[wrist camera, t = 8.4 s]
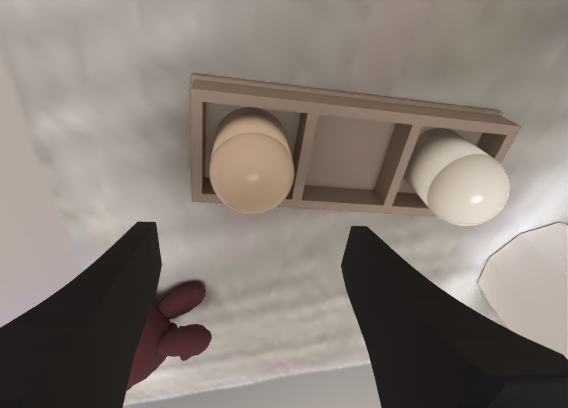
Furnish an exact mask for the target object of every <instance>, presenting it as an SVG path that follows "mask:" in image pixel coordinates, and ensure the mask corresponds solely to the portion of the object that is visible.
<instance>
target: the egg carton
mask: <svg viewBox="0 0 568 408" xmlns="http://www.w3.org/2000/svg"><path fill="white" fill-rule="evenodd" d="M191 84H192V86H191V88H190V108H191V181H192V202H207V203H223V202H222V201H221V200H220V199H219V198H218V197H217V195H216V193H215V192H214V190H213V187H212V185H211V181H210V174H209V171H210V162H211V156H212V151H213V145H214V140H215V134H216V130H217V127H218V125H219V123H220V122H221V121H222V119H223V118H224V117H225V116H226V115H228V114H229V113H230V112H232V111H234V110H236V109H239V108H243V107H255V108H261V109H264V110H266V111H268V112H270V113H271V114H273V115H274V116H275V117H276V118H277V119H278V120H279V122H280V123H281V125H282V126H283V129H284V132H285V135H286V139H287V142H288V146H289V149H290V153H291V157H292V160H293V165H294V180H293V184H292V187H291V189H290V192H289V193H288V195H287V197H286V198H285V199H284V200H283V201H282V202H281V203H280V204H279V205H278V206H277V207H289V208H306V209H322V210H339V211H355V212H371V213H388V214H404V215H421V216H436V215H435V214H434V213H433V212H432V211H431V210H430V209H429V207H428V206H427V205H426V204H425V203H424V201H423V200H422V199H421V198H420V197H419V195H418V194H417V193H416V192H415V191H414V189H413V188H412V187H411V186H410V185H409V184H408V182H407V181H406V180H405V179H404V177H403V176H404V173H405V170H406V168H407V165H408V163H409V160H410V157H411V155H412V152H413V149H414V147H415V144H416V142H417V139H418V136H419V135H420V134H422V133H424V132H426V131H428V130H431V129H436V128H446V129H450V130H453V131H454V132H456V133H458V134H459V135H460V136H462V137H463V138H465V139H466V140H468V141H469V142H471V143H472V144H474V145H475V146H477V147H478V148H479V149H481V150H482V151H484V152H485V153H487V154H488V155H490V156H491V157H493V158H494V159H495V160H496V161H498V162H499V163H500V164H501V162H502V160H503V159H504V157H505V155H506V153H507V151H508V150H509V148H510V146H511V144H512V142H513V140H514V139H515V137H516V135H517V133H518V131H519V130H520V128H521V126H519V125H517V124H515V123H513V122H511V121H509V120H507V119H505V118H503V117H502V115H503V112H501V111H498V110H490V109H482V108H474V107H466V106H457V105H449V104H441V103H433V102H425V101H417V100H408V99H400V98H392V97H384V96H376V95H368V94H359V93H351V92H343V91H335V90H327V89H319V88H310V87H302V86H294V85H286V84H278V83H270V82H262V81H253V80H245V79H237V78H229V77H221V76H213V75H204V74H196V73H192V75H191Z"/></svg>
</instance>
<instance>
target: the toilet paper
mask: <svg viewBox="0 0 568 408" xmlns="http://www.w3.org/2000/svg"><path fill="white" fill-rule="evenodd" d="M478 285H479V287H480V289H481V290H482V292H483V294H484V296H485V298H486V299H487V301H488V302H489V303H490V305H491V306H492V307H493V309H494V310H495V311H496V312H497V314H498V315H499V316H500V318H501V319H502V320H503V322H504V323H505V324H506V325H507V327H508V328H509V329H510V330H511V331H513V332H515V333H517V334H519V335H521V336H523V337H525V338H527V339H530V340H532V341H534V342H536V343H539V344H541V345H543V346H545V347H548V348H550V349H552V350H554V351H556V352H559V353H561V354H563V355H564V356H565V357H566V358H567V359H568V225H567V224H563V223H556V224H552V225H549V226H546V227H542V228H539V229H535V230H532V231H529V232H525V233H522V234H520V235H519V236H517V237H516V238H515V239H513V240H512V241H511V242H509V243H508V244H507V245H506V246H504V247H503V248H502V249H500V250H499V251H498V252H496V253H495V254H494V255H492V256H491V257H490V258H489V259H488V262H487V264H486V266H485V268H484V270H483V272H482V274H481V276H480V279H479V281H478Z"/></svg>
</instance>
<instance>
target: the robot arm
mask: <svg viewBox="0 0 568 408" xmlns="http://www.w3.org/2000/svg"><path fill="white" fill-rule="evenodd" d="M161 266H162V263H161V255H160V248H159V241H158V234H157V226H156V222H137V223H136V224H135V225H134V226H133V227H132V228H130V229H129V230H128V231H127V232H126V233H125V234H124V235H123V236H122V237H121V238H120V239H119V240H118V241H117V242H116V243H115V244H114V245H113V246H112V247H111V248H109V249H108V250H107V251H106V252H105V253H104V254H103V255H102V256H101V257H100V258H98V259H97V260H96V261H95V262H94V263H93V264H92V265H90V266H89V267H88V268H87V269H86V270H84V271H83V272H82V273H81V274H80V275H78V276H77V277H76V278H75V279H73V280H72V281H71V282H70V283H68V284H67V285H66V286H65V287H63V288H62V289H60V290H59V291H57V292H56V293H54V294H53V295H52V296H50V297H49V298H47V299H46V300H44V301H43V302H42V303H40V304H38V305H37V306H36V307H34V308H32V309H30V310H29V311H27V312H26V313H24V314H22V315H21V316H19V317H17V318H16V319H14V320H13V321H11V322H9V323H8V324H6V325H4V326H3V327H1V328H0V408H123V403H124V399H125V394H126V389H127V385H128V381H129V377H130V372H131V368H132V364H133V360H134V356H135V353H136V350H137V347H138V344H139V341H140V338H141V335H142V332H143V329H144V326H145V323H146V320H147V318H148V315H149V312H150V309H151V306H152V303H153V300H154V297H155V294H156V291H157V286H158V282H159V277H160V272H161ZM341 268H342V273H343V278H344V282H345V287H346V290H347V293H348V296H349V299H350V302H351V304H352V307H353V310H354V313H355V315H356V318H357V321H358V324H359V326H360V329H361V332H362V335H363V337H364V340H365V343H366V346H367V350H368V353H369V357H370V361H371V365H372V369H373V373H374V376H375V380H376V385H377V390H378V394H379V398H380V402H381V407H382V408H568V359H567V358H566V357H565V356H564V355H563V354H561V353H559V352H556V351H554V350H552V349H550V348H548V347H545V346H543V345H541V344H539V343H536V342H534V341H532V340H530V339H527V338H525V337H523V336H521V335H519V334H517V333H515V332H513V331H511V330H509V329H507V328H505V327H503V326H501V325H499V324H497V323H496V322H494V321H492V320H490V319H488V318H486V317H485V316H483V315H481V314H480V313H478V312H476V311H475V310H473V309H471V308H469V307H468V306H466V305H464V304H463V303H461V302H460V301H458V300H457V299H455V298H454V297H452V296H451V295H449V294H448V293H446V292H445V291H443V290H442V289H440V288H439V287H438V286H436V285H435V284H433V283H432V282H431V281H429V280H428V279H427V278H426V277H424V276H423V275H422V274H421V273H419V272H418V271H417V270H416V269H414V268H413V267H412V266H411V265H410V264H408V263H407V262H406V261H405V260H404V259H403V258H401V257H400V256H399V255H398V254H397V253H396V252H395V251H394V250H392V249H391V248H390V247H389V246H388V245H387V244H386V243H385V242H384V241H383V240H381V239H380V238H379V237H378V236H377V235H376V234H375V233H374V232H373V231H372V230H370V229H369V228H368V227H367V226H351V230H350V234H349V237H348V241H347V245H346V249H345V252H344V256H343V260H342V264H341Z"/></svg>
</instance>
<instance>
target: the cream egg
mask: <svg viewBox="0 0 568 408" xmlns="http://www.w3.org/2000/svg"><path fill="white" fill-rule="evenodd" d="M403 177H404V179H405V180H406V181H407V182H408V184H409V185H410V186H411V187H412V188H413V189H414V191H415V192H416V193H417V194H418V195H419V197H420V198H421V199H422V200H423V201H424V203H425V204H426V205H427V206H428V207H429V209H430V210H431V211H432V212H433V213H434V214H435V215H436V216H437V217H439V218H440V219H442V220H443V221H445V222H448V223H450V224H454V225H459V226H472V225H478V224H481V223H484V222H486V221H488V220H490V219H492V218H493V217H494V216H496V215H497V214H498V213H499V212H500V211H501V210H502V208H503V207H504V205H505V204H506V202H507V199H508V196H509V191H510V184H509V179H508V175H507V173H506V171H505V169H504V168H503V167H502V166H501V164H500V163H499V162H498V161H496V160H495V159H494V158H493V157H491V156H490V155H488V154H487V153H485V152H484V151H482V150H481V149H479V148H478V147H477V146H475V145H474V144H472V143H471V142H469V141H468V140H466V139H465V138H463V137H462V136H460V135H459V134H458V133H456V132H454V131H453V130H450V129H446V128H436V129H431V130H428V131H426V132H424V133H422V134H420V135H419V136H418V139H417V142H416V144H415V147H414V149H413V152H412V155H411V157H410V160H409V163H408V165H407V168H406V170H405V173H404V176H403Z"/></svg>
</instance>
